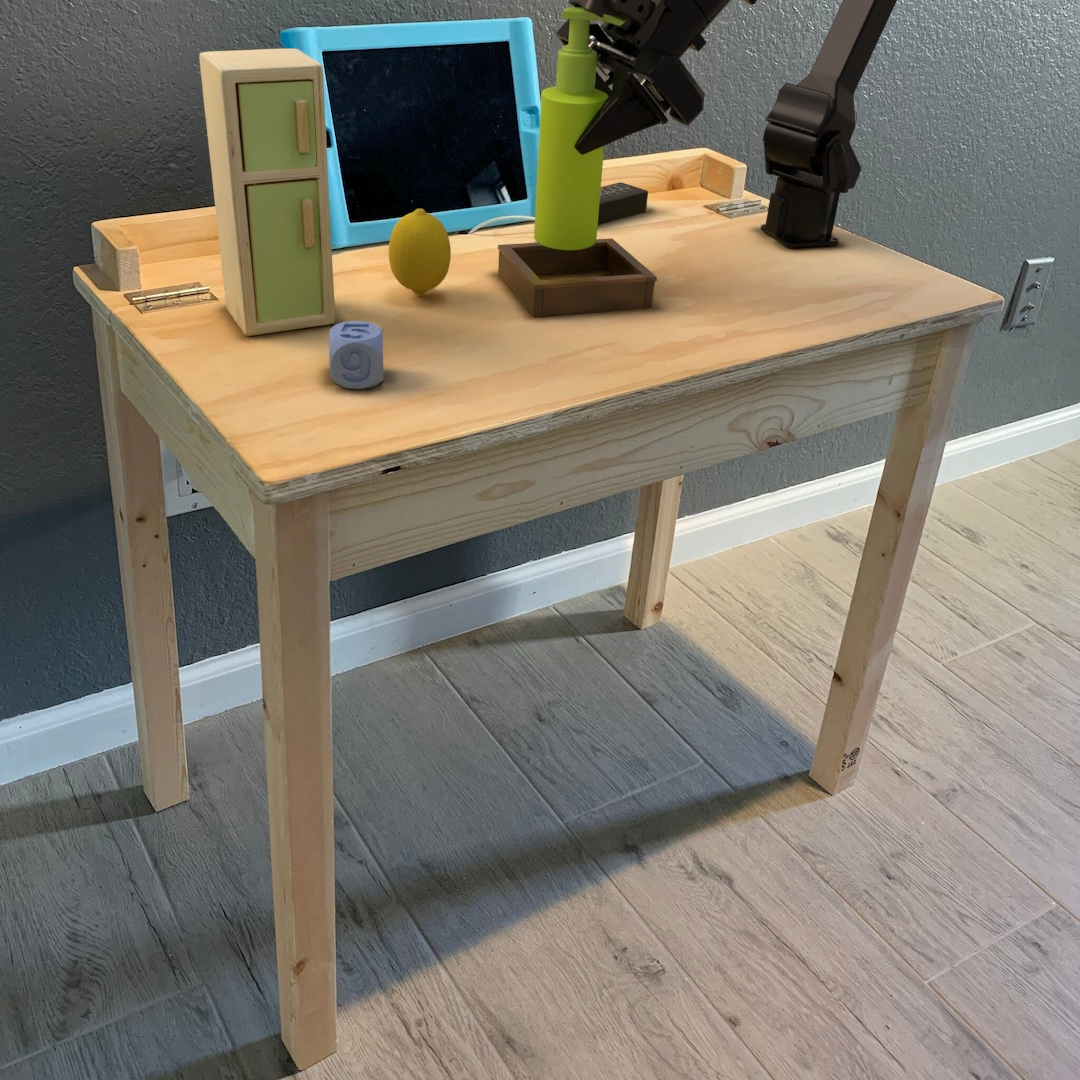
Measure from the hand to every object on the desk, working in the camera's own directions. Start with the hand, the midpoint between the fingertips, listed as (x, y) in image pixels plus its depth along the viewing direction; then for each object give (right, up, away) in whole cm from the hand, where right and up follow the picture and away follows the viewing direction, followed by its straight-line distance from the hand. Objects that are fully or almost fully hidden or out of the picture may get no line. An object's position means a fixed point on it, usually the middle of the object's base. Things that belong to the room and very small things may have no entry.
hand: (562, 141), depth 101 cm
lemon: (-13, -13, +3) cm, 19 cm away
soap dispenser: (+1, -7, +6) cm, 9 cm away
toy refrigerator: (-24, -17, -4) cm, 30 cm away
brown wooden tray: (+1, -12, +6) cm, 13 cm away
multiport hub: (+5, +1, +26) cm, 27 cm away
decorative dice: (-16, -23, -13) cm, 31 cm away
